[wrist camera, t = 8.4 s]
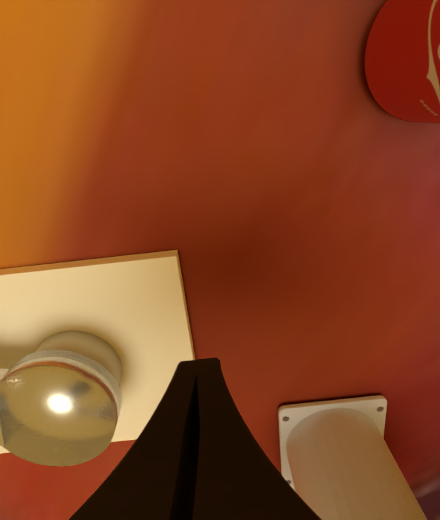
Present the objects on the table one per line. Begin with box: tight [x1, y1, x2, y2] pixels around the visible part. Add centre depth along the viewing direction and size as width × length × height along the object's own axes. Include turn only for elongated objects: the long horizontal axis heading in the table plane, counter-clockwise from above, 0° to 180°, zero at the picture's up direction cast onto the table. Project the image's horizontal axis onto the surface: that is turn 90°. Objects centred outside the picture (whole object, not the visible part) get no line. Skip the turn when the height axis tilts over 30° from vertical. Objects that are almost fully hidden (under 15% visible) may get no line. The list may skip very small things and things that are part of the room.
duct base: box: [0, 250, 195, 453], centre depth 22 cm, size 14×17×3 cm
